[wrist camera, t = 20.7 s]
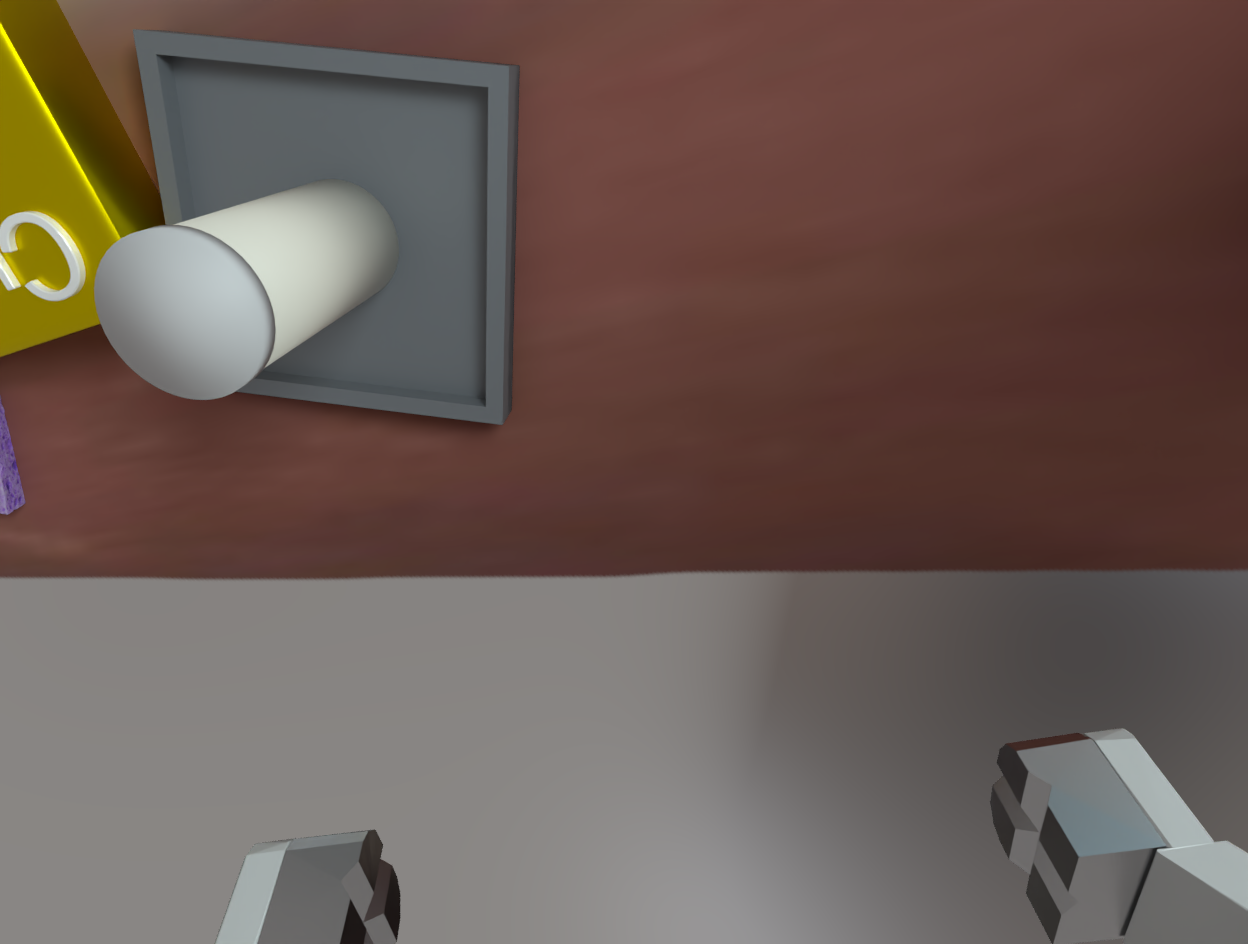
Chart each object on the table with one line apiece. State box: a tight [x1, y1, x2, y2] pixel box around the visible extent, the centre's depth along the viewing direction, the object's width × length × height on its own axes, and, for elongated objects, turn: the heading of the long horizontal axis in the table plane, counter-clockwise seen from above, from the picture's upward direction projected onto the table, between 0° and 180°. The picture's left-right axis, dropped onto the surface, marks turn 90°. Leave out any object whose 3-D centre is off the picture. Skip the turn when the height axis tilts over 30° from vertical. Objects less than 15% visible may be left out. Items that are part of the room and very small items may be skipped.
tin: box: [94, 179, 399, 400], centre depth 31 cm, size 5×5×12 cm
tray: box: [133, 29, 520, 425], centre depth 36 cm, size 15×15×2 cm
